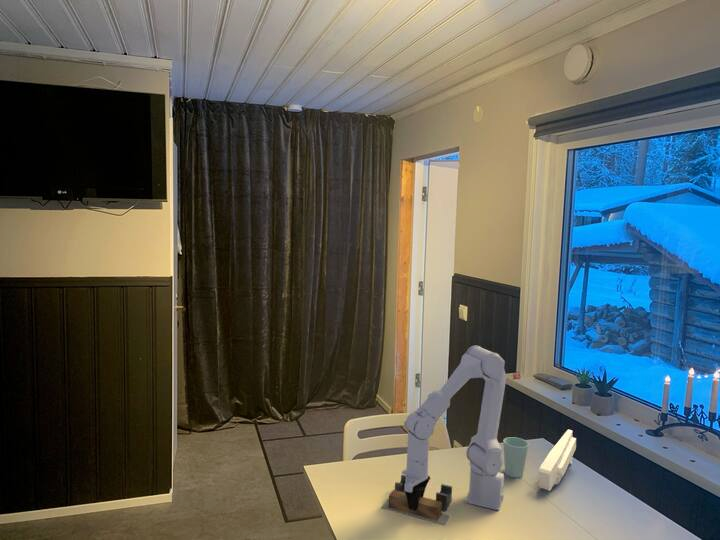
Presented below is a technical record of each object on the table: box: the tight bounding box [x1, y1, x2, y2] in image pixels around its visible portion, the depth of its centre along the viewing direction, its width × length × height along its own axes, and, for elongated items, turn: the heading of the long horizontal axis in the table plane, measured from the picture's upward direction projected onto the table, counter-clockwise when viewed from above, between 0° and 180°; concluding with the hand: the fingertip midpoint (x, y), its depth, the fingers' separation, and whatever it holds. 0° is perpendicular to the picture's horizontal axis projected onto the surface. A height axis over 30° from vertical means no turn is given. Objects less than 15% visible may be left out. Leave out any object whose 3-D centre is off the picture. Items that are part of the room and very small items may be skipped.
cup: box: [502, 436, 530, 478], centre depth 171 cm, size 8×8×10 cm
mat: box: [380, 498, 451, 526], centre depth 147 cm, size 18×5×1 cm, turn 66°
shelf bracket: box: [537, 429, 577, 491], centre depth 169 cm, size 6×25×13 cm, turn 143°
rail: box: [388, 489, 443, 521], centre depth 146 cm, size 14×4×4 cm, turn 66°
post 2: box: [435, 483, 453, 513], centre depth 150 cm, size 3×6×4 cm, turn 156°
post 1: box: [394, 474, 406, 493], centre depth 155 cm, size 3×6×4 cm, turn 156°
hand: (415, 505), depth 147 cm, fingers closed on rail, 3 cm apart
